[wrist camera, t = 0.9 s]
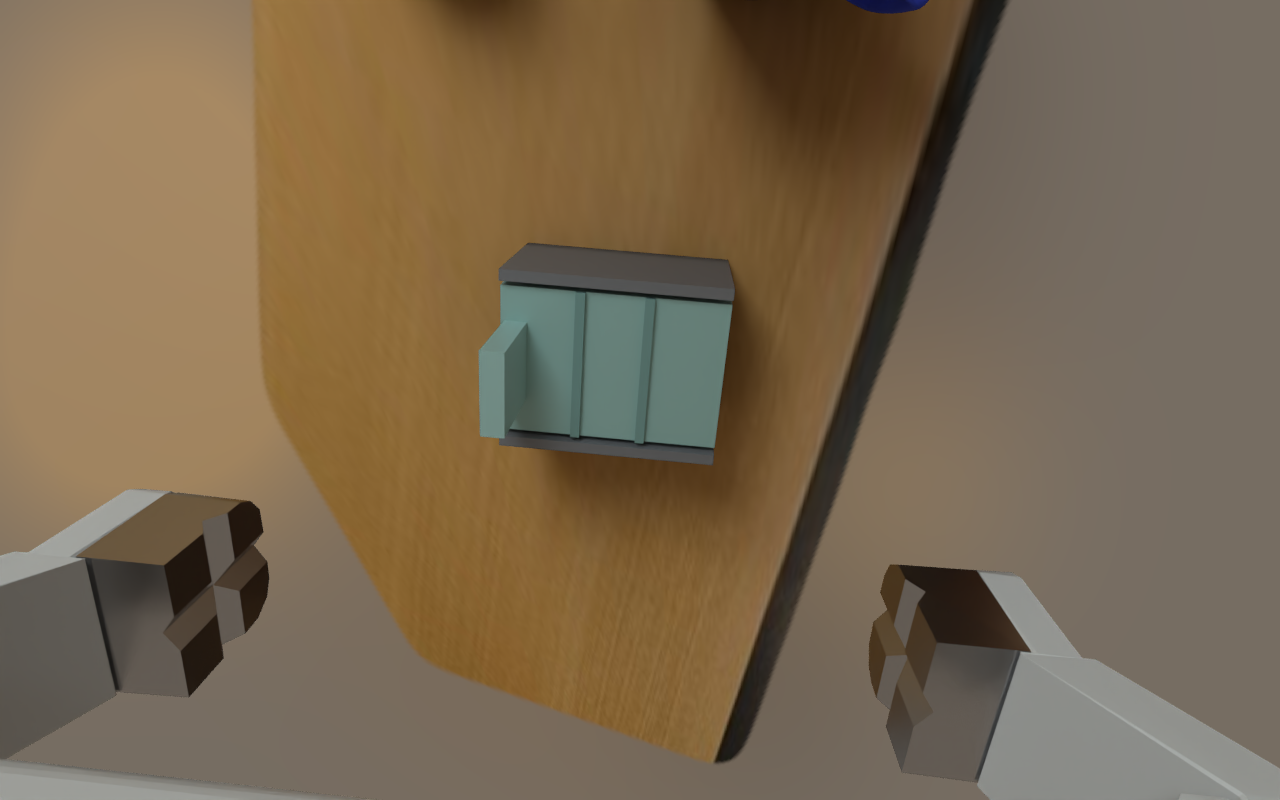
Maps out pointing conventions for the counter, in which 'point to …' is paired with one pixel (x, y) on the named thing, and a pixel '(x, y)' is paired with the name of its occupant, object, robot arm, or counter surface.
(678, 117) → the counter surface
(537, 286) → the lid
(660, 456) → the grey box
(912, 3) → the mug
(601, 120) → the counter surface
